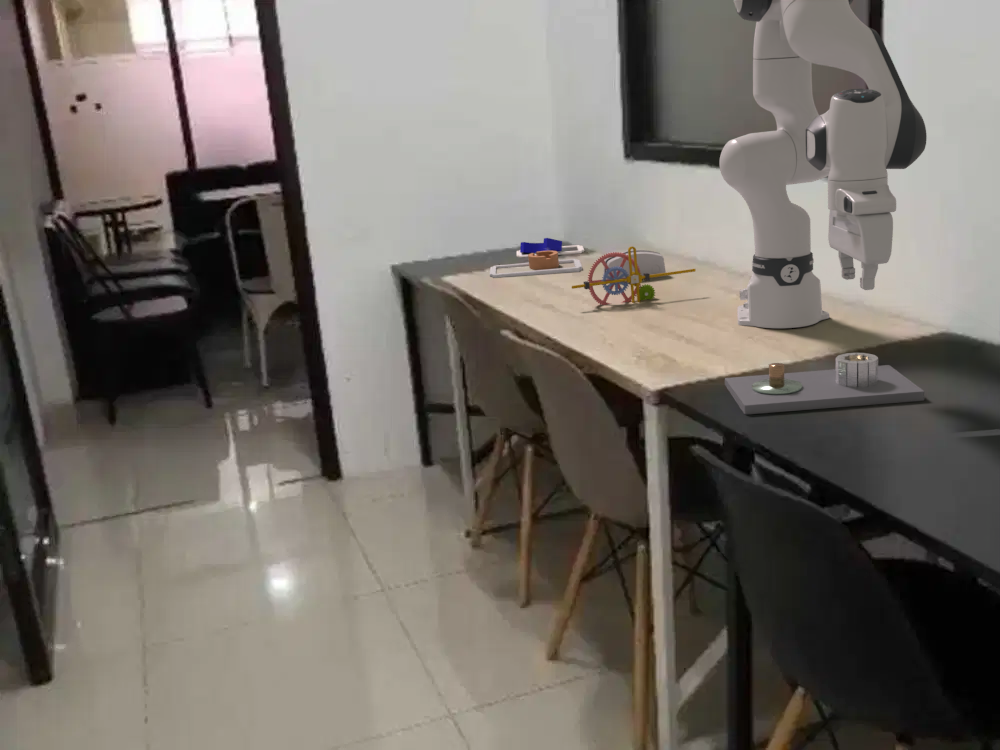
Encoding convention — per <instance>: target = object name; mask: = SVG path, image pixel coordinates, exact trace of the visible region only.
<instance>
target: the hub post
mask: <svg viewBox="0 0 1000 750" xmlns="http://www.w3.org/2000/svg"><path fill="white" fill-rule="evenodd" d="M784 373H785V363H781V362H772V363H769V364H768V375H769V379H766V380H761V381H757V382H755V383H753V384H752V390H753V391H755V392H757V393H761V394H767V395H785V394H792V393H796V392H798V391H800V390H801V389H802V384H801V383H800V382H798V381H795V380H790V379H784Z"/></svg>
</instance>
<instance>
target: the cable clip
mask: <svg viewBox="0 0 1000 750" xmlns="http://www.w3.org/2000/svg"><path fill="white" fill-rule="evenodd" d="M562 246H563V241H562V240H559V239H553V238H551V237H544V238H543V242H526V241H521V242H520V249H519V250H520V252H521V253H522V254H531V253H534V254H536V252H539V251H557V252H563V248H562Z"/></svg>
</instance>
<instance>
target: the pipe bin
mask: <svg viewBox="0 0 1000 750" xmlns="http://www.w3.org/2000/svg"><path fill="white" fill-rule="evenodd" d="M558 260H559V265H560V264H572V263H573V265H574V266H572V267H560V268H559V267H557V268H553V269H546V270H526V271H524V270H523V271H513V272H500V273H497V269H505V268H517V267H529V262H521V263H512V264H511V263H510V264H500V265H499V264H498V265H493V266H490V269H489V277H490V278H493V279H496V278H509V277H524V276H537V275H538V276H539V275H550V274H551V275H552V274H565V273H566V274H567V273H580V271H583V266H582V263H581V260H580V259H577V258H569V259H558Z"/></svg>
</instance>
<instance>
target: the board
mask: <svg viewBox="0 0 1000 750" xmlns="http://www.w3.org/2000/svg"><path fill="white" fill-rule="evenodd" d="M766 379H769V374H760V375H759V374H758V375H749V376H747V375H746V376H735V377H733V376H731V377H725V378H724V386H725V387H726V389H727V390H728V392H729V393H730V395H731V396H732V398H733V399H734V401H735V403H736V404H737V405H738V407H739V408H740V410H741V411H742V413H743V414H744V415H756V414H768V413H771V414H772V413H780V412H781V413H782V412H783V413H784V412H794V411H796V412H797V411H806V410H807V411H808V410H818V409H819V410H822V409H832V408H846V407H859V406H871V405H884V404H886V405H887V404H896V403H909V402H921V401H922V402H923V401H925V390H924V389H922V388H921V387H919V386H918V385H916V383H914V382H913V381H911V380H910V379H909V378H908V377H906V376H904V374H902V373H901V372H899V371H898V370H897V369H895V368H894V367H892V366H891V365H890V364H885V365H878V382H877V383H876V384H875V385H872V386H868V387H847V386H843V385H839V384H838V383H836V368H833V369H832V368H831V369H823V370H821V369H820V370H808V371H798V372H786V373H785V372H784V379H790V380H795V381H798V382H800V383H801V384H802V389H801V390H800V391H798V392H796V393H792V394H785V395H767V394H761V393H757V392H755V391H753V390H752V384H753V383H755V382H757V381H761V380H766Z"/></svg>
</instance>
